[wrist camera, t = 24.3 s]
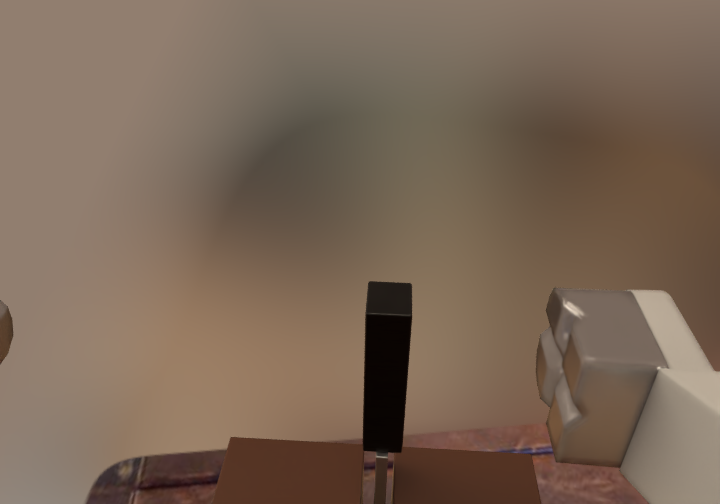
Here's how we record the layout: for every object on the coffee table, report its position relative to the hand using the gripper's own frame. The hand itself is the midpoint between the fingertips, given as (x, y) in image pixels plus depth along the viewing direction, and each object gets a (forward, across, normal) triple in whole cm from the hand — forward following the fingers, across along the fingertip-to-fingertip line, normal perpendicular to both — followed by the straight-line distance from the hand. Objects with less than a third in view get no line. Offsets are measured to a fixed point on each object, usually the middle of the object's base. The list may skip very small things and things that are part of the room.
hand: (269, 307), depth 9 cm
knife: (+15, -2, +30) cm, 34 cm away
